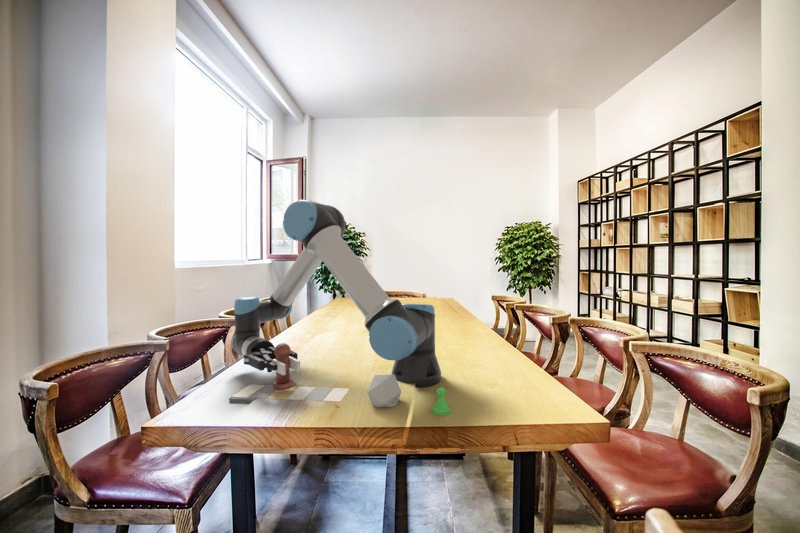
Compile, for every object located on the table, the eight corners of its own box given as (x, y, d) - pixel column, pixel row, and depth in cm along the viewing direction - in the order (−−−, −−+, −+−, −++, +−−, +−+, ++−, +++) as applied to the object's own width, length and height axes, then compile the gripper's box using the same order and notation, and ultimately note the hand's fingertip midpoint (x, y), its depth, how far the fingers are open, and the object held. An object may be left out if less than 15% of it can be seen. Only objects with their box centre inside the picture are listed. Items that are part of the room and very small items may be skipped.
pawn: (296, 383, 95) (295, 341, 94) (287, 390, 89) (286, 346, 89) (278, 382, 95) (277, 340, 95) (269, 389, 90) (268, 345, 90)
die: (389, 421, 79) (409, 383, 82) (357, 400, 80) (379, 364, 83) (389, 418, 87) (408, 383, 90) (361, 399, 88) (380, 366, 91)
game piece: (441, 417, 79) (440, 391, 79) (428, 410, 83) (428, 386, 82) (454, 412, 82) (454, 387, 82) (441, 406, 85) (441, 382, 85)
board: (351, 391, 95) (351, 387, 95) (340, 407, 85) (340, 402, 85) (250, 387, 99) (250, 383, 99) (229, 402, 89) (229, 397, 89)
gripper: (284, 357, 111) (320, 375, 94) (230, 368, 100) (259, 391, 83) (283, 334, 111) (319, 347, 94) (229, 343, 100) (259, 360, 83)
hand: (291, 368), depth 88 cm, fingers closed on pawn, 3 cm apart
